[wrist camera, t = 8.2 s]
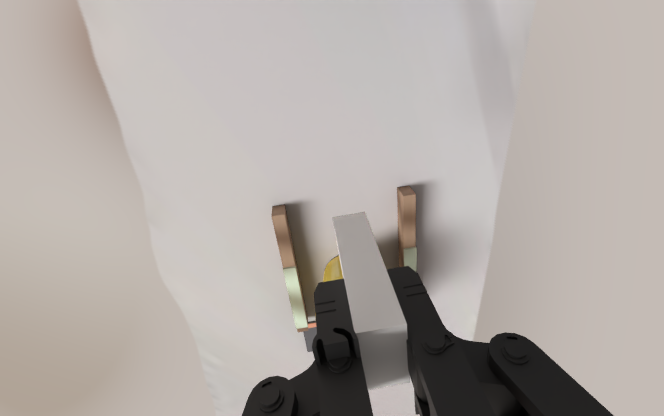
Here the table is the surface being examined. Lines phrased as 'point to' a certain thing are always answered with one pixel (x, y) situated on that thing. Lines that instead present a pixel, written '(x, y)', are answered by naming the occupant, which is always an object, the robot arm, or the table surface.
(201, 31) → the table surface
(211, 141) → the table surface
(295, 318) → the pair of brown bars
